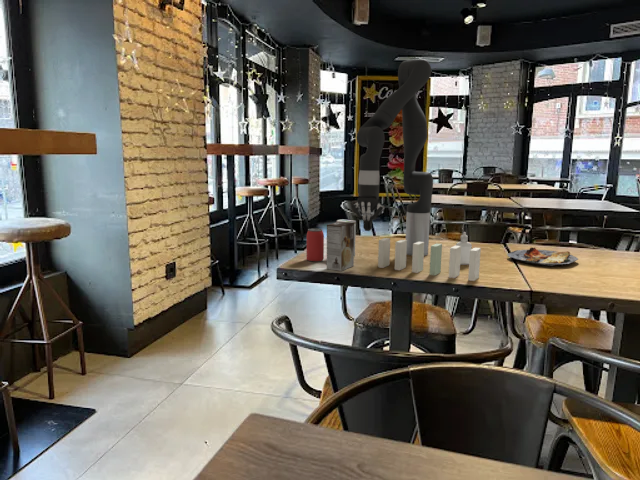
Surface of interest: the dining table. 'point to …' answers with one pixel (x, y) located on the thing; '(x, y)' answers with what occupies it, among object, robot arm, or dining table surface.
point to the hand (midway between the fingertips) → (367, 230)
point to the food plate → (543, 257)
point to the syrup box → (354, 228)
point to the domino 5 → (474, 264)
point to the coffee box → (340, 245)
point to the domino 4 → (454, 261)
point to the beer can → (315, 245)
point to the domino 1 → (384, 252)
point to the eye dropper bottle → (464, 249)
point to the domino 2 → (400, 254)
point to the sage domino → (435, 259)
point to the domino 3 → (418, 257)
